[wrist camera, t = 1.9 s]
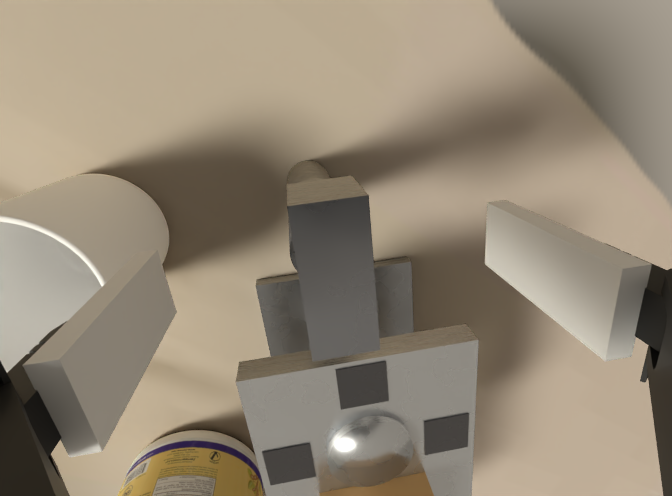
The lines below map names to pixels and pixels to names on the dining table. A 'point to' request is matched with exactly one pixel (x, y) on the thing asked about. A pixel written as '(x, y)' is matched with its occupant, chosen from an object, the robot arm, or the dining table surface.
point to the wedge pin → (333, 261)
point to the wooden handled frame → (390, 488)
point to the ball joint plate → (360, 398)
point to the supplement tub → (194, 467)
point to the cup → (67, 251)
